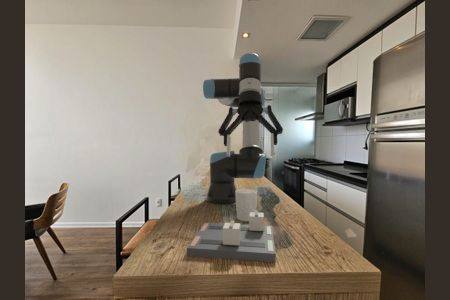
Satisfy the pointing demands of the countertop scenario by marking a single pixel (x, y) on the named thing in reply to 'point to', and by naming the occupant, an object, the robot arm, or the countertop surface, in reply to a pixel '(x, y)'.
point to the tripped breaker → (231, 233)
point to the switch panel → (247, 249)
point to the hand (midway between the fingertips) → (250, 155)
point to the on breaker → (256, 221)
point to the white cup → (245, 203)
